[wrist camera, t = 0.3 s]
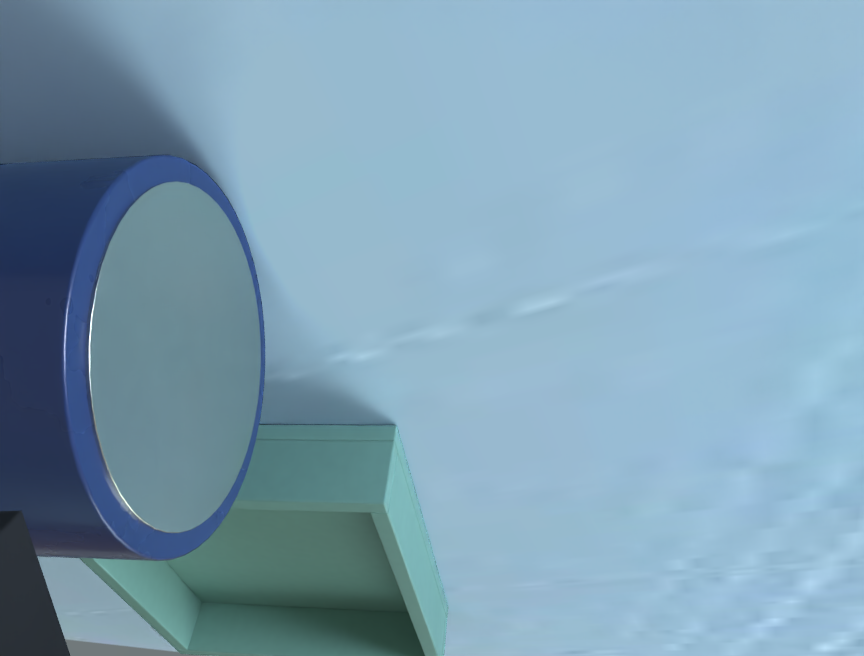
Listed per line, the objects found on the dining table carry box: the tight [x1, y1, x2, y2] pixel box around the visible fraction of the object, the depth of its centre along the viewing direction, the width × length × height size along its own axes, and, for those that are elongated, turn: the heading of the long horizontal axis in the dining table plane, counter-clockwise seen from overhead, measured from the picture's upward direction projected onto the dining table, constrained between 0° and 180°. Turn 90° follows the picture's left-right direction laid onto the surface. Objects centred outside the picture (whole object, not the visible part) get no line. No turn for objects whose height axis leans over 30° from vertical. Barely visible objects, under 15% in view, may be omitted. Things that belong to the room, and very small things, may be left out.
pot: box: [0, 155, 265, 561], centre depth 22 cm, size 10×11×11 cm
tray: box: [80, 425, 448, 656], centre depth 39 cm, size 20×17×4 cm
